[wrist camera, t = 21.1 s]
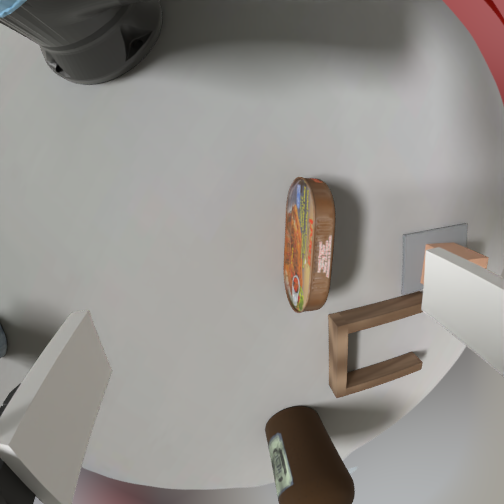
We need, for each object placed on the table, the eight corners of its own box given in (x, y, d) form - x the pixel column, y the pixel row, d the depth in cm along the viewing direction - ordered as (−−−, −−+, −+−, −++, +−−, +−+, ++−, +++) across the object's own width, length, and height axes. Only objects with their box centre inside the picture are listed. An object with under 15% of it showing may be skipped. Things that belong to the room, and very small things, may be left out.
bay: (328, 314, 43) (337, 326, 39) (419, 291, 44) (432, 300, 41) (329, 384, 46) (336, 398, 43) (410, 358, 48) (421, 369, 44)
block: (425, 243, 41) (461, 260, 34) (453, 242, 42) (488, 257, 34) (420, 282, 43) (452, 304, 35) (447, 278, 44) (480, 298, 36)
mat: (403, 234, 41) (405, 235, 40) (465, 223, 42) (467, 224, 42) (401, 293, 44) (403, 294, 43) (461, 275, 45) (463, 277, 44)
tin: (287, 174, 37) (309, 179, 29) (312, 176, 37) (340, 181, 29) (281, 294, 41) (299, 326, 33) (304, 293, 41) (327, 324, 33)
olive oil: (328, 399, 47) (389, 521, 24) (315, 440, 50) (360, 550, 26) (264, 404, 46) (304, 544, 22) (258, 445, 49) (287, 567, 25)
